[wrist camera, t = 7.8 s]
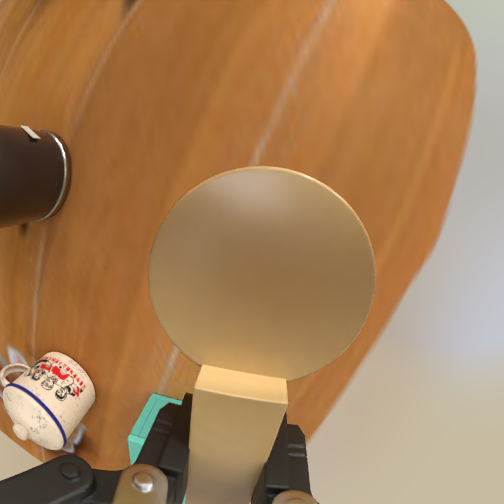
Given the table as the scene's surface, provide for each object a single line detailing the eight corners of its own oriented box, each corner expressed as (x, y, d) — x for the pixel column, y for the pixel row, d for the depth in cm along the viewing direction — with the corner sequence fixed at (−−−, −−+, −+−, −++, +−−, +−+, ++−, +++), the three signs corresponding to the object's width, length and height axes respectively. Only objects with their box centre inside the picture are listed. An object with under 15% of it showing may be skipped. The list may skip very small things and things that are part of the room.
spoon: (260, 514, 12) (258, 555, 9) (165, 497, 12) (152, 536, 9) (372, 192, 8) (421, 197, 5) (186, 157, 8) (143, 144, 5)
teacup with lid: (101, 372, 29) (48, 436, 18) (96, 418, 31) (56, 476, 20) (26, 324, 29) (-34, 366, 17) (28, 374, 31) (-19, 417, 19)
